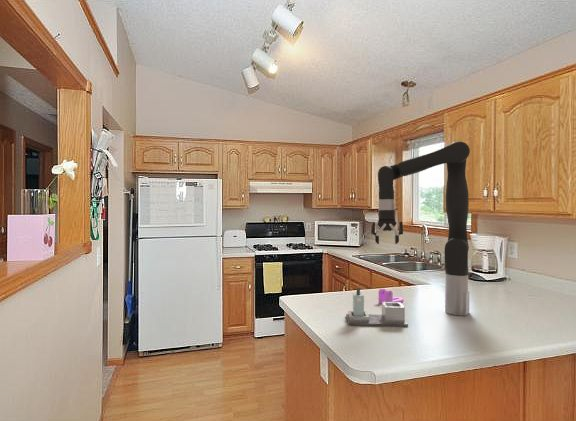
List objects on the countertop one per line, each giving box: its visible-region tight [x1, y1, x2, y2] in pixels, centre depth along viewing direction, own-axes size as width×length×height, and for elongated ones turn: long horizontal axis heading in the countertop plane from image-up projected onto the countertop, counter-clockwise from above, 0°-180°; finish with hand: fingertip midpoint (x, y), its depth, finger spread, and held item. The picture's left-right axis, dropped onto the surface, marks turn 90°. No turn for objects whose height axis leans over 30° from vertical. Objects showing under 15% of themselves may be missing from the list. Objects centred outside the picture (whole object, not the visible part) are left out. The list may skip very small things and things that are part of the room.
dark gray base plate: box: [345, 302, 409, 328], centre depth 149 cm, size 23×12×7 cm, turn 86°
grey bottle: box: [352, 286, 365, 316], centre depth 149 cm, size 4×5×13 cm
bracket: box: [378, 288, 404, 304], centre depth 178 cm, size 13×6×7 cm, turn 121°
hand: (387, 243), depth 170 cm, fingers open, 8 cm apart
